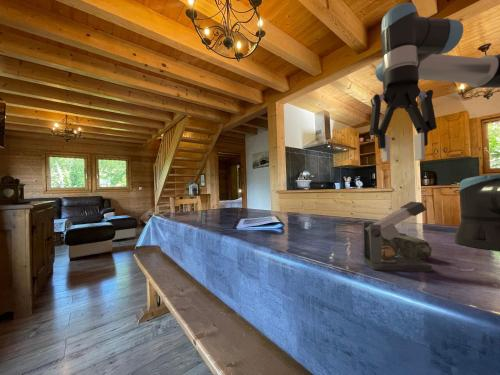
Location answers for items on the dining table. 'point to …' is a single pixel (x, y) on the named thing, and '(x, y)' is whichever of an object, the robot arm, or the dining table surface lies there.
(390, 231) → the lever
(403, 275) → the dining table surface
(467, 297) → the dining table surface
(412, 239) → the stone
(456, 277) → the dining table surface
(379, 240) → the cracker base
